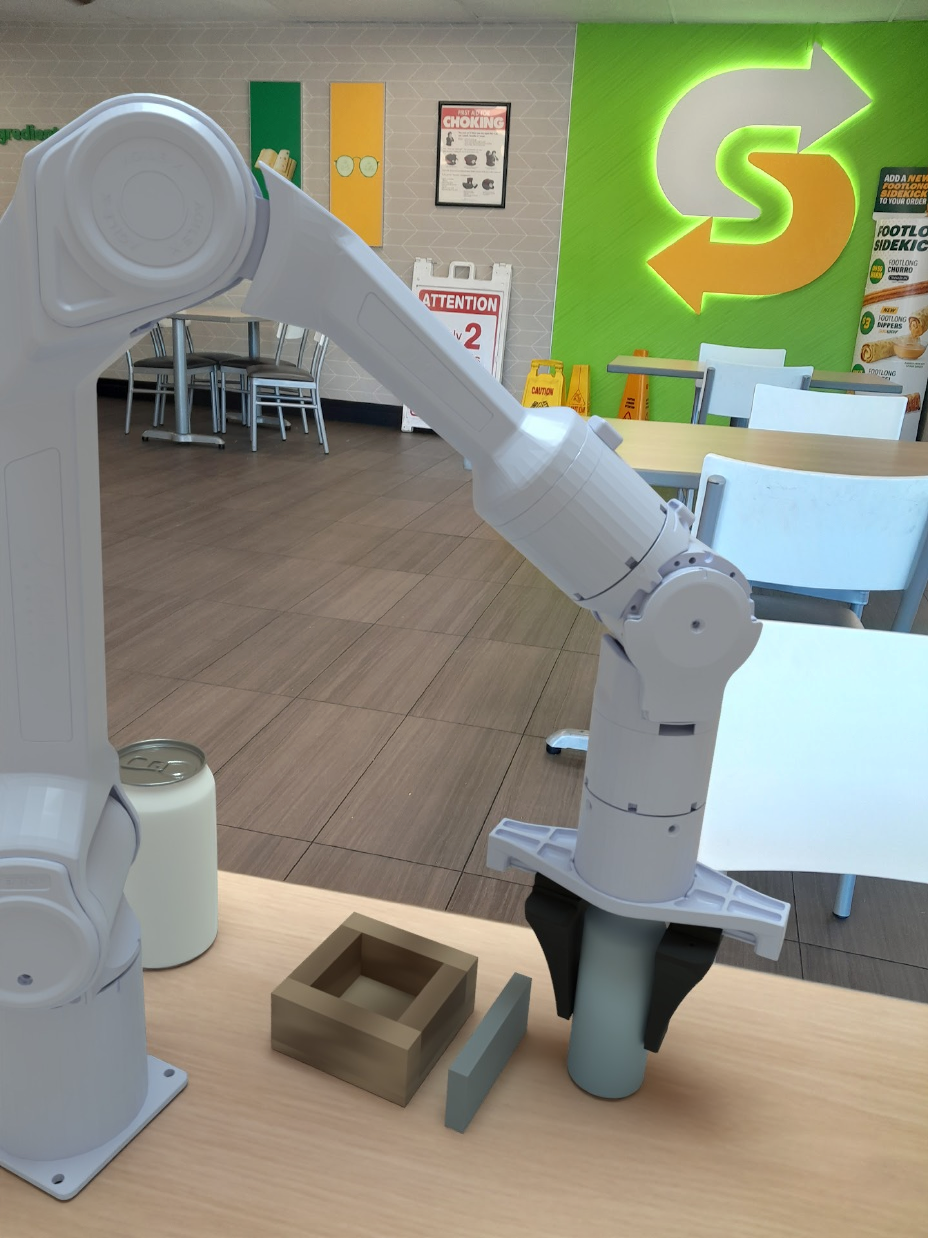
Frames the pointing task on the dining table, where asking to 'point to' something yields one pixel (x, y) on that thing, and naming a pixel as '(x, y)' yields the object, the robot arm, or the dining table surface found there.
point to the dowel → (613, 1002)
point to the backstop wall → (487, 1053)
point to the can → (172, 849)
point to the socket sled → (374, 1006)
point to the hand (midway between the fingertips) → (611, 1022)
